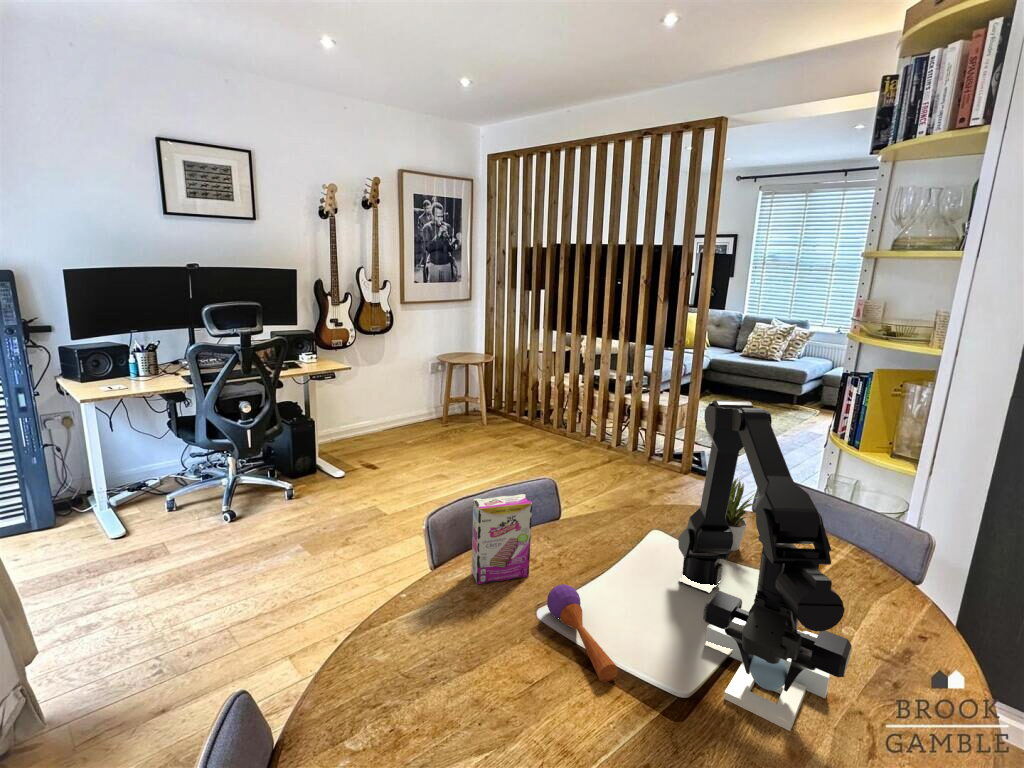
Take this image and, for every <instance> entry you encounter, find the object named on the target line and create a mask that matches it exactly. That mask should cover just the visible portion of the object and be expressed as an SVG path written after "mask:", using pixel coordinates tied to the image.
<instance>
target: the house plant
mask: <svg viewBox="0 0 1024 768" xmlns="http://www.w3.org/2000/svg"><path fill="white" fill-rule="evenodd" d="M701 477H702V478H703V479H706V476H701ZM738 479H739V477H737V478H735V479H734V480H733V484H732V489H731V494H730V499H729V504H728V509H727V514H726V520H727V522H728V524H729V526H730V528H731V530H732V533H733V545H732V548H731V551H730V552H736V551H738V550H739V549H740V546H741V543H742V540H743V536H744V533H745V530H746V527H747V523H748V522H747V521H746V520H745V519H746V518H748V516H744V515H745V514H746V515H747V514H748V512H747V511H746V510H745V509H746V508H748V507H750V506H756V504H757V503H749V502H750V501H751V500H753V499H759V497H754V498H753V496H755V495H757V492H755V493H753V494H752V495H751V496H750V497H749V498H747V499H746V500H745V501H744V502H743V503H742V504H741V505H740V503H741V501H742V497H743V494H744V490H745V484H744V482H742V483H741V479H739V481H738ZM737 481H738V482H737ZM702 495H703V493H702ZM739 506H740V507H739ZM754 517H755V516H749V518H751V519H752V520H755V518H754Z"/></svg>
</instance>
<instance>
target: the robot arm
mask: <svg viewBox="0 0 1024 768" xmlns="http://www.w3.org/2000/svg"><path fill="white" fill-rule="evenodd" d="M770 412H771V411H769V410H768V409H765V408H762V407H754V405H753V404H752V402H751V401H750V400H748V401H747V400H721V399H720V400H717V399H714V400H713V401H712V402H709V403H708V405H707V406H706V407H705V409H704V422H705V425H704V426H705V430H706V432H707V434H708V436H709V438H710V440H711V447H710V450H709V451H710V452H709V458H708V461H707V462H708V463H707V468H706V474H705V478H704V480H705V481H704V486H703V490H702V494H703V495H702V497H701V501H700V506H699V508H698V509H697V510H696V511H695V512H694V513H692V515H690V517H689V518H688V522H687V526H686V528H685V529H684V530H683V531H682V532H681V534H679V536H678V549H679V551H680V552H681V555H682V556H683V562H682V563H683V566H682V573H681V574H683V575H685V576H686V577H687V578H688V579H690V580H691V581H694V582H697V583H700V584H710V585H713V584H714V585H717V584H718V582H719V581H720V580H721V581H722V572H723V564H722V563H721V560H725V561H726V560H728V559H729V556H730V553H731V552H732V551H731V548H732V545H733V533H732V530H731V528H730V526H729V524H728V522H727V520H726V514H727V509H728V504H729V499H730V494H731V489H732V484H733V482H734V480H735V479H734V478H735V475H736V474H735V473H736V471H737V470H736V469H737V464H738V458H739V455H740V452H741V450H742V449H744V452H745V455H746V458H747V461H748V464H749V467H750V470H751V473H752V476H753V478H754V483H755V485H756V487H757V493H758V496H759V498H757V499H758V500H757V501H756V503H755V504H756V505H755V508H754V512H755V525H756V529H757V531H758V532H757V533H758V535H759V536H758V538H757V539H758V541H759V542H760V543H761V544H762V548H761V557H760V564H759V565H760V566H759V571H758V581H757V587H756V593H755V595H754V601H753V604H752V606H751V608H749V611H748V610H745V609H743V608H742V607H743V600H742V598H739V597H737V596H736V595H735V596H734V595H732V594H730V593H726V592H724V591H721V590H717V591H716V592H714V594H713V595H712V596H711V597H710V599H708V601H707V602H706V603H705V605H704V609H703V615H702V616H703V617H702V619H703V621H704V622H705V623H707V624H708V625H709V624H711V625H714V626H716V627H718V628H721V629H724V628H726V627H727V628H726V629H725V633H726V634H727V635H728V636H731V637H732V638H733V639H734V640H735V641H736V642H737V644H738V647H739V649H740V653H741V656H742V660H743V663H744V667H745V670H746V673H747V674H750V663H751V660H752V658H753V656H757V657H759V658H761V659H764V660H765V661H766V662H768V663H771V664H777V663H778V662H779V661H780V659H783V660H786V661H787V659H788V658H790V659H792V660H791V665H790V668H789V671H788V674H787V677H786V680H785V685H784V691H786V692H787V691H788V689H789V688H790V686H791V685H792V683H793V682H794V680H795V679H796V677H797V676H798V674H799V673H800V672H801V671H802V670H804V669H809V670H815V669H816V668H817V669H819V670H821V671H824V672H826V673H828V674H830V676H833V677H836V678H844V677H845V674H846V670H847V667H848V665H849V661H850V658H851V653H852V648H853V647H852V643H851V642H850V640H849V639H848V638H846V637H843V636H841V635H838V634H835V633H833V632H830V631H829V630H830V629H833V628H834V627H836V626H837V625H838V624H839V623H840V622H841V621H842V619H843V617H844V613H845V606H844V603H843V599H842V598H841V596H840V595H839V594H838V593H837V592H836V591H835V590H834V589H833V588H832V586H833V583H832V580H831V579H830V578H829V577H828V576H827V575H825V574H824V573H823V572H821V570H820V566H821V565H822V566H825V565H826V566H830V565H831V564H832V558H831V555H830V552H831V551H832V547H831V544H830V541H829V537H828V535H827V532H826V531H827V530H826V529H825V525H824V520H823V517H822V515H821V513H820V512H819V509H818V508H817V507H816V505H815V503H814V501H813V499H812V497H811V496H810V494H809V493H808V492H807V491H805V490H804V489H803V488H802V487H800V486H799V485H797V483H796V482H794V479H793V477H792V475H791V472H790V470H789V468H788V463H787V462H786V459H785V457H784V454H783V451H782V450H781V446H780V445H779V442H778V440H777V436H776V434H775V432H774V429H773V426H772V414H771V413H770ZM796 545H813V547H814V548H804V547H803V548H802V547H801V548H799V547H798V546H796ZM799 623H800V624H801V625H802V627H804V628H805V629H807V630H809V631H801V630H798V625H799ZM810 631H811V632H810ZM812 631H813V632H818V634H816V633H813V632H812Z"/></svg>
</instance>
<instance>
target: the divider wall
mask: <svg viewBox="0 0 1024 768" xmlns="http://www.w3.org/2000/svg"><path fill="white" fill-rule="evenodd" d="M705 633H706V634H705V641H708V642H711V643H714V644H716V645H720V646H722V647H726V648H730V649H733V652H732V654H731V655H730V656H729V657H730V658H732V659H734V660H738V661H739V662H741V663H742V662H743V660H742V656H741V653H740V649H739V647H738V644H737V642H736V641H735V640H734V639H733V638H732V637H731V636H728V635H727V634H726V633H725V630H724V629H721V628H718V627H716V626H714V625H711V624H709V623H708V625H707V626H706V632H705ZM753 657H754V656H753ZM781 660H782V661H783V663H784V664H785V666H786V669H787V674H788V671H789V668H790V665H791V660H792V659H790V658H788V659H787V661H786V660H783V659H781ZM830 677H831V674H828V673H826V672H824V671H821V670H819V669H817V668H816V669H815V670H809V669H804V670H802V671H801V672H800V673H799V674H798V676H797V677H796V679H795V680H794V682H796V683H799V684H801V685H803V686H806V691H807V692H809V693H812V694H814V695H816V696H818V697H820V698H823V699H826V697H827V695H828V689H829V683H830Z"/></svg>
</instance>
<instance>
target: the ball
mask: <svg viewBox="0 0 1024 768" xmlns="http://www.w3.org/2000/svg"><path fill="white" fill-rule="evenodd" d="M750 672H751V675H752V678H753V679H754V681H755V682H756V684H757V685H758V686H759V687H761V688H763V689H764V690H767V691H773V690H777V689H780V688H781V687H783V686H784V684H785V680H786V677H787V669H786V666H785V664H784V663H783V661H782V660H781V659H780V661H779V662H778V663H777V664H771V663H768V662H766V661H765V660H764V659H761V658H759V657H757V656H754V657H753V658H752V660H751V663H750Z"/></svg>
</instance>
